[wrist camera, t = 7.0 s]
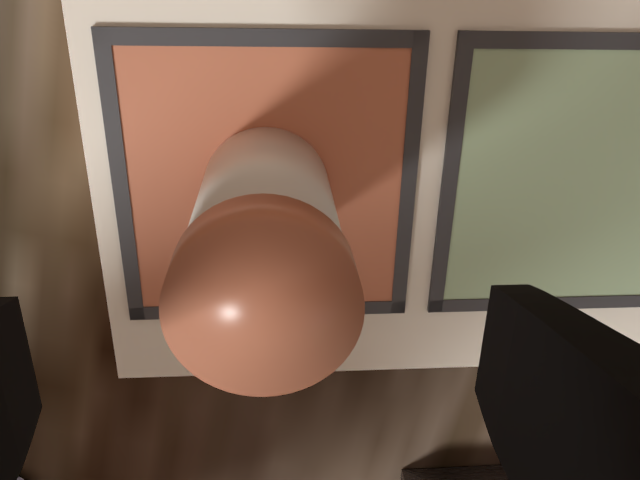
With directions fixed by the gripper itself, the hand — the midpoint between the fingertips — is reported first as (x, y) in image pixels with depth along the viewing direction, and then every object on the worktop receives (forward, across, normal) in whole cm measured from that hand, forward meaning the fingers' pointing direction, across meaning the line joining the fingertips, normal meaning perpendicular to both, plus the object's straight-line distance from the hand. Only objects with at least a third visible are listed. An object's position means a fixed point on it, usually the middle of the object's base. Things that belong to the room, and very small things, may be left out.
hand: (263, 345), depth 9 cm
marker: (+7, 0, 0) cm, 7 cm away
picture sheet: (+8, -4, 0) cm, 9 cm away
